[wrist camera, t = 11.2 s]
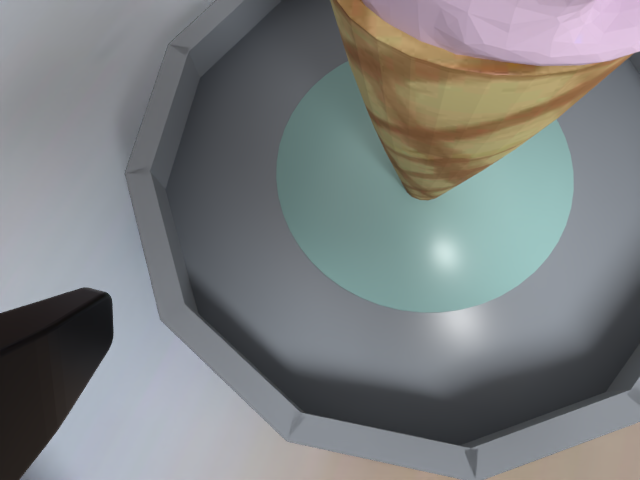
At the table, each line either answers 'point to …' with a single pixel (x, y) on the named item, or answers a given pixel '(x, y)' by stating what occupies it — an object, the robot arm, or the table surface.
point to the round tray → (387, 255)
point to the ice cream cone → (476, 74)
